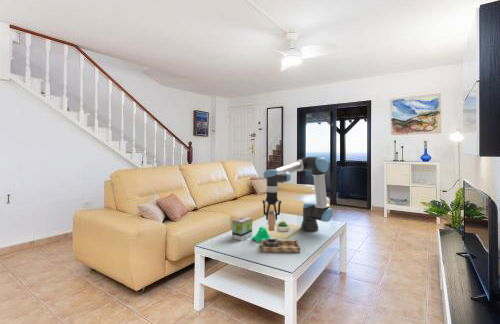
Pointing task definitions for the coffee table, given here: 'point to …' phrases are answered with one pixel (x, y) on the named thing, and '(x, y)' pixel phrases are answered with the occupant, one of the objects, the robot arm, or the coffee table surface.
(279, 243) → the inlet box
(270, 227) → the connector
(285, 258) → the coffee table surface
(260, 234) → the green lumpy mound
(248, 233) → the tea box
